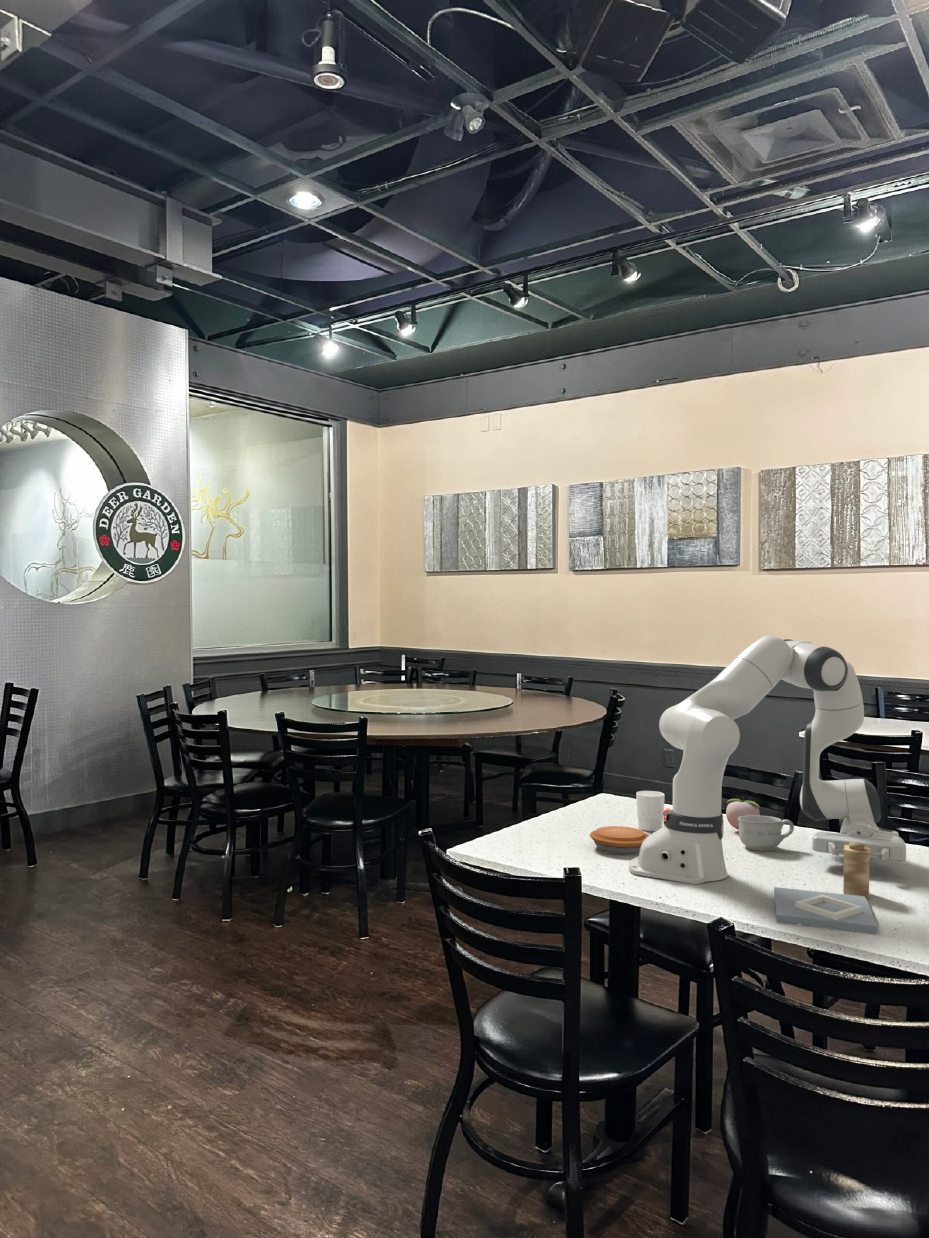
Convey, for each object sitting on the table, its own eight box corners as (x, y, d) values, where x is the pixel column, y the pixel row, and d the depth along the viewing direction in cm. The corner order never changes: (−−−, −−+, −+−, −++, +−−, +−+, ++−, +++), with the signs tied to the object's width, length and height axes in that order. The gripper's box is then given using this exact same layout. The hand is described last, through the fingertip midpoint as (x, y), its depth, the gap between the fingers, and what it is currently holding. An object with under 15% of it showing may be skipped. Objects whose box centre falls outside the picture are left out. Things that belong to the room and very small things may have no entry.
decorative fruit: (723, 833, 238) (723, 797, 238) (727, 827, 245) (727, 792, 245) (758, 837, 234) (758, 801, 234) (761, 830, 241) (761, 795, 241)
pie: (577, 848, 221) (577, 829, 221) (612, 838, 231) (613, 820, 231) (627, 861, 210) (627, 841, 210) (662, 849, 220) (662, 830, 220)
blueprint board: (776, 922, 167) (776, 914, 167) (774, 893, 185) (774, 886, 185) (877, 933, 162) (877, 925, 162) (864, 903, 179) (865, 896, 179)
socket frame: (795, 906, 172) (795, 901, 172) (821, 899, 177) (821, 894, 177) (835, 920, 165) (835, 914, 165) (862, 911, 170) (862, 906, 170)
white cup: (644, 823, 248) (644, 789, 248) (669, 828, 243) (669, 793, 243) (631, 828, 242) (631, 793, 242) (656, 833, 237) (656, 797, 237)
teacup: (739, 852, 219) (740, 820, 219) (736, 841, 229) (736, 811, 229) (797, 856, 215) (797, 824, 215) (791, 845, 226) (791, 815, 226)
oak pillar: (843, 896, 184) (843, 845, 184) (844, 889, 189) (844, 839, 189) (869, 899, 182) (869, 848, 182) (869, 892, 186) (869, 842, 186)
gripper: (813, 822, 213) (809, 835, 201) (905, 832, 204) (907, 845, 192) (813, 847, 213) (809, 862, 201) (904, 858, 204) (906, 873, 192)
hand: (857, 854), depth 196 cm, fingers open, 8 cm apart
